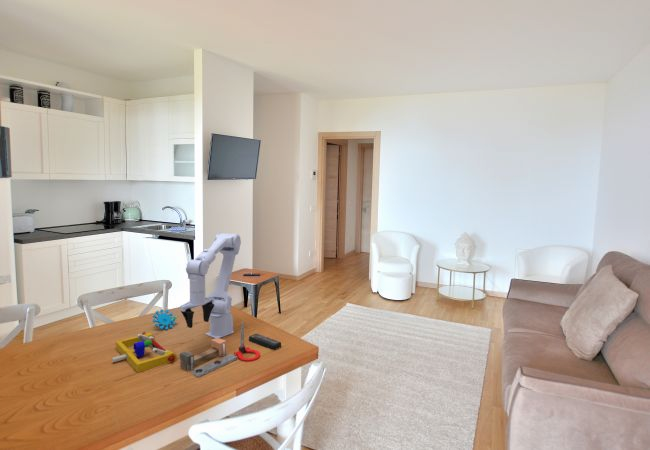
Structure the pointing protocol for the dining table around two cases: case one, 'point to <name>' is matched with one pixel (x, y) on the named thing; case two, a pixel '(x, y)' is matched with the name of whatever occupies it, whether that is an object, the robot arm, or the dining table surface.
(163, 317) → the gear
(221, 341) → the block
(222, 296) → the robot arm
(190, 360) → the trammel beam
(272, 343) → the multiport hub
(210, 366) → the steel strip
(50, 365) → the dining table surface
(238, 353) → the tow hook
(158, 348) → the yellow frame mechanism
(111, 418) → the dining table surface
